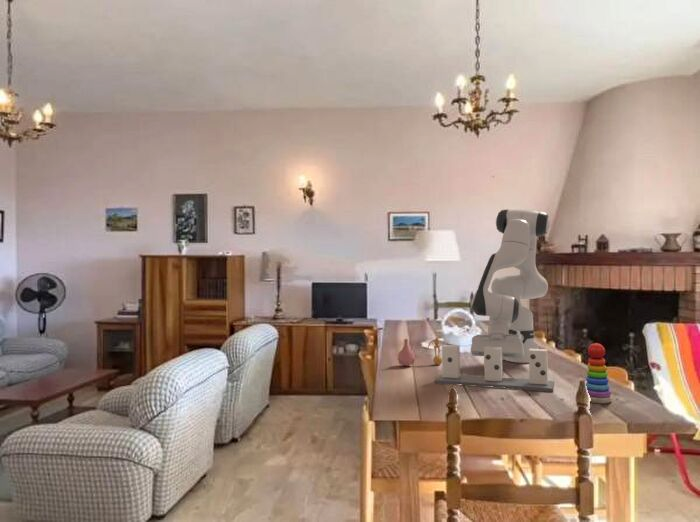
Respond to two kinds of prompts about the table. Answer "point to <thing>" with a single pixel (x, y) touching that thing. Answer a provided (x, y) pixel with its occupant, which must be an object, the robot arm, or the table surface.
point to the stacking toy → (597, 375)
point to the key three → (538, 366)
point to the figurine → (438, 359)
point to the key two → (493, 363)
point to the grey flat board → (496, 382)
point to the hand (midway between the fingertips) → (495, 364)
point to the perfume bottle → (406, 355)
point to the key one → (451, 361)
